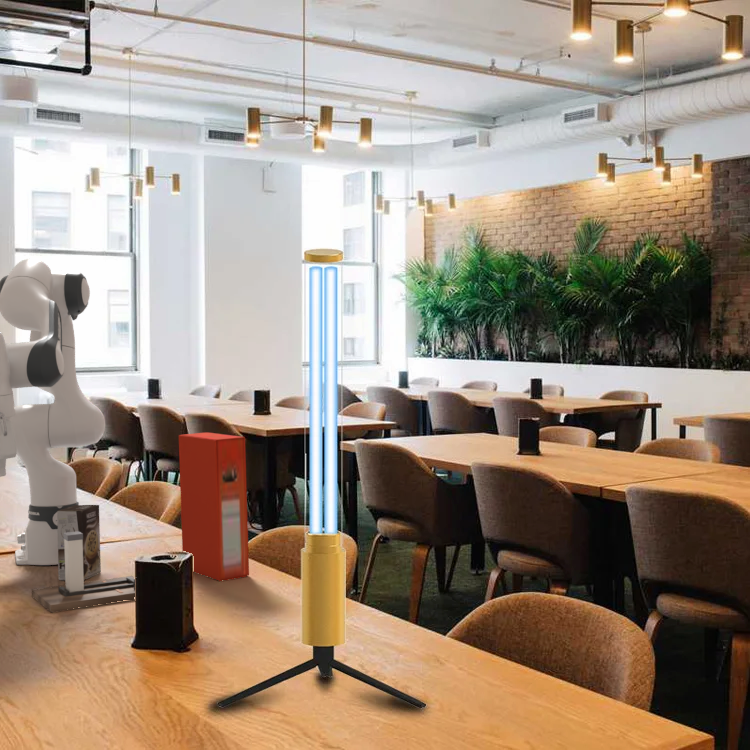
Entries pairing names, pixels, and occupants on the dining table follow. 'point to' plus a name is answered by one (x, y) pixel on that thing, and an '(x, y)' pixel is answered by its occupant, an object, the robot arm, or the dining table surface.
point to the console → (86, 594)
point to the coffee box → (88, 524)
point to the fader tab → (74, 561)
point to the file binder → (214, 504)
